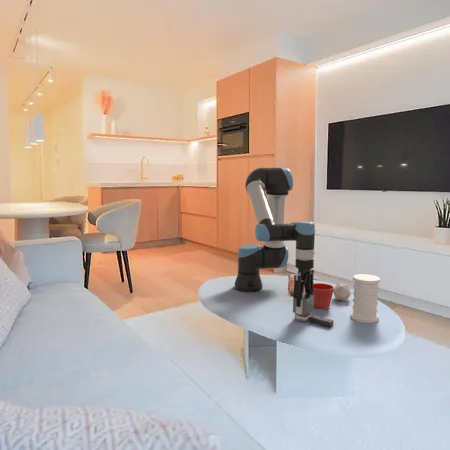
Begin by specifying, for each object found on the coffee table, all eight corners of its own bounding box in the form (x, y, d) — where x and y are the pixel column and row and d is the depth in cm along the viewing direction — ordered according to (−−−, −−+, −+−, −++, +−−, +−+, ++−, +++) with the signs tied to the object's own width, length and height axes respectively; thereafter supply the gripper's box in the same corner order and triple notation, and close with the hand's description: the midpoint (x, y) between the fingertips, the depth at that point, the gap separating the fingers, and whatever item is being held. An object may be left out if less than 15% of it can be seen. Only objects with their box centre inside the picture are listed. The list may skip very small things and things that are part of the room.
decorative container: (376, 325, 160) (378, 282, 157) (347, 319, 165) (349, 278, 163) (380, 315, 170) (382, 275, 167) (353, 311, 175) (355, 272, 173)
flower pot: (317, 300, 189) (317, 281, 188) (337, 306, 182) (338, 286, 180) (304, 306, 182) (305, 285, 181) (325, 312, 174) (326, 291, 173)
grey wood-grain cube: (292, 312, 165) (293, 296, 164) (300, 308, 170) (300, 292, 169) (306, 315, 161) (307, 299, 160) (313, 311, 166) (313, 295, 165)
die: (342, 305, 185) (354, 289, 185) (327, 293, 189) (339, 278, 188) (344, 305, 192) (356, 290, 192) (330, 294, 196) (341, 279, 196)
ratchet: (291, 319, 165) (291, 305, 164) (299, 315, 171) (299, 301, 170) (328, 329, 155) (328, 314, 154) (335, 324, 160) (335, 309, 160)
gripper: (301, 264, 152) (300, 320, 155) (322, 255, 167) (321, 307, 170) (285, 261, 157) (283, 315, 160) (307, 253, 172) (305, 303, 175)
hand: (303, 311), depth 165 cm, fingers closed on grey wood-grain cube, 6 cm apart
